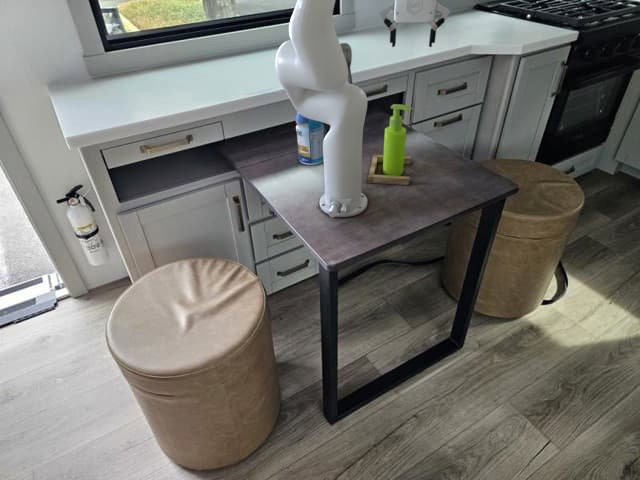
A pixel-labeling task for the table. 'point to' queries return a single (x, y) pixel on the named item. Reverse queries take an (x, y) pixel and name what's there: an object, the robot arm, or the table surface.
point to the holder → (386, 178)
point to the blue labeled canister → (310, 140)
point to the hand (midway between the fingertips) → (411, 45)
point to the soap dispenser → (395, 143)
